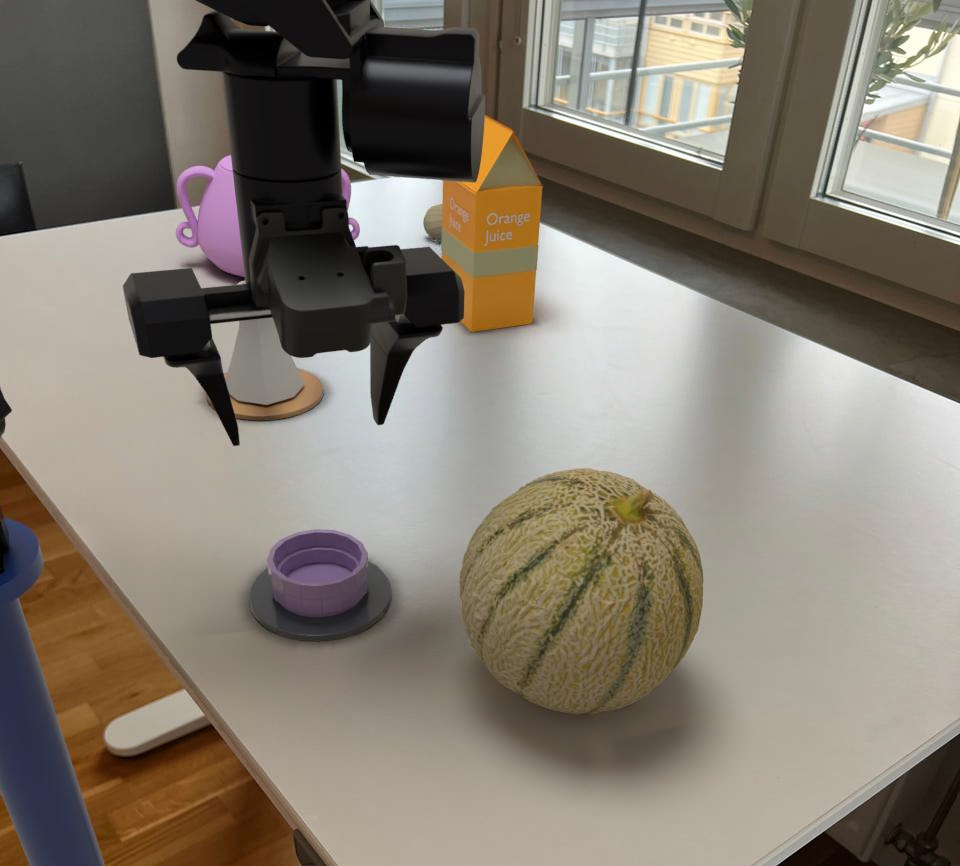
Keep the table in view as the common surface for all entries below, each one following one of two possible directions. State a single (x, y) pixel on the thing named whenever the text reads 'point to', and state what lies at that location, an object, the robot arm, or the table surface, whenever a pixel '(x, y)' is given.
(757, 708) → the table surface
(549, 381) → the table surface
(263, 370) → the flask
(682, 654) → the cantaloupe
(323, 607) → the dish
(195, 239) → the teapot
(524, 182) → the orange juice
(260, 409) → the cork coaster
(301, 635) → the slate coaster
